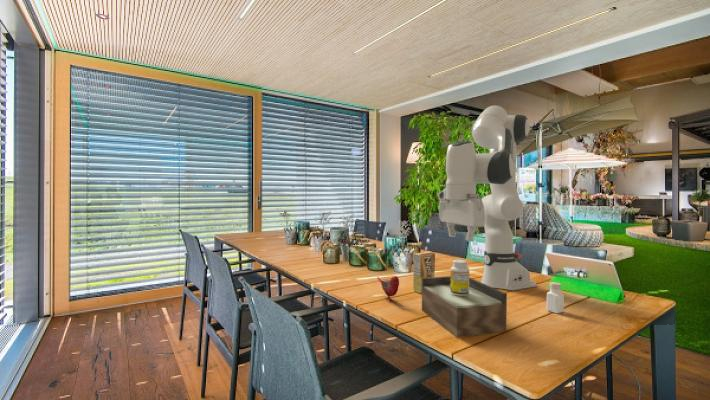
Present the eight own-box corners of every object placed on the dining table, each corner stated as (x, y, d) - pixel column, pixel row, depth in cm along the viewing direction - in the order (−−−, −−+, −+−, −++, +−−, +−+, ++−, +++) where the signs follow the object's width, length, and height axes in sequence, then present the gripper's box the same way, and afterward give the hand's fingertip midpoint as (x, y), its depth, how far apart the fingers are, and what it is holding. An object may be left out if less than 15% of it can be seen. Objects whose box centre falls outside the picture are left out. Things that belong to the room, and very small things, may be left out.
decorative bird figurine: (395, 306, 120) (395, 278, 119) (373, 292, 136) (374, 267, 136) (402, 305, 121) (402, 277, 120) (380, 291, 137) (380, 267, 137)
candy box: (426, 287, 143) (427, 251, 143) (435, 289, 140) (435, 252, 140) (412, 291, 138) (413, 253, 137) (421, 293, 135) (421, 255, 134)
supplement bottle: (455, 290, 110) (455, 258, 110) (472, 293, 106) (472, 260, 106) (447, 294, 106) (447, 261, 105) (464, 297, 102) (465, 263, 102)
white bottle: (557, 314, 112) (557, 285, 112) (545, 310, 116) (546, 282, 116) (564, 312, 114) (565, 284, 114) (552, 308, 118) (553, 281, 117)
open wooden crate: (463, 306, 120) (464, 275, 120) (506, 331, 99) (506, 293, 98) (421, 310, 116) (422, 278, 116) (456, 337, 95) (456, 297, 94)
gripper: (491, 194, 96) (490, 243, 96) (452, 193, 115) (452, 234, 116) (471, 194, 94) (471, 244, 94) (435, 193, 114) (435, 235, 114)
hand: (460, 238), depth 105 cm, fingers open, 8 cm apart
